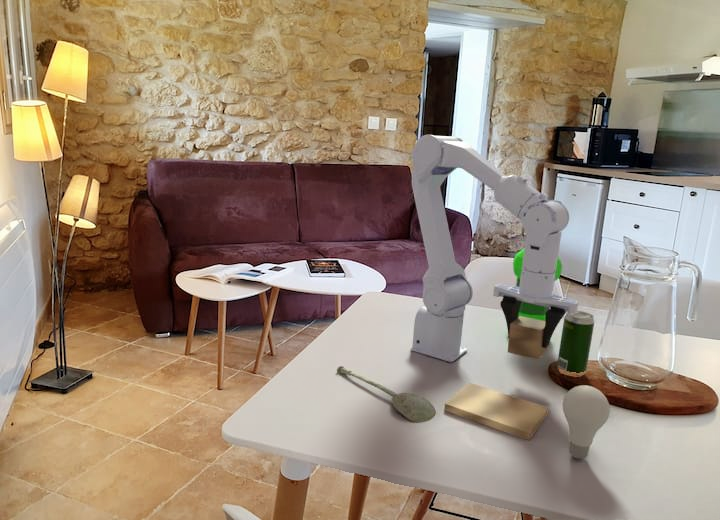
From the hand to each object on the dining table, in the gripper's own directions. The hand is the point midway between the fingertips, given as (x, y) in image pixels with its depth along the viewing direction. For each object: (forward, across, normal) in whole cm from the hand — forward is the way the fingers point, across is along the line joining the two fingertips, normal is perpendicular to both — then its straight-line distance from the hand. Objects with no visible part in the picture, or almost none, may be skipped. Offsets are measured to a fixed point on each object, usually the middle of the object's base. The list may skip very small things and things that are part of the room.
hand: (528, 341), depth 99 cm
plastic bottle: (+8, -7, +25) cm, 27 cm away
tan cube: (+2, 0, 0) cm, 2 cm away
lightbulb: (+8, +14, -19) cm, 25 cm away
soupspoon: (+9, -18, -21) cm, 29 cm away
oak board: (+8, 0, -14) cm, 16 cm away
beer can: (+8, +6, +11) cm, 15 cm away
